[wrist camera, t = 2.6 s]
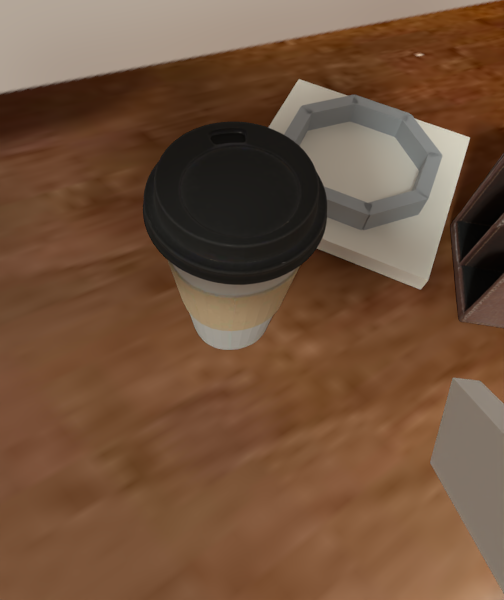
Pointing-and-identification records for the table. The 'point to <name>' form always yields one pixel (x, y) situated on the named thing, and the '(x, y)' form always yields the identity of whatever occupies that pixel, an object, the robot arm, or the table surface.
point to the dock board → (376, 178)
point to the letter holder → (481, 252)
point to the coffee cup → (234, 224)
